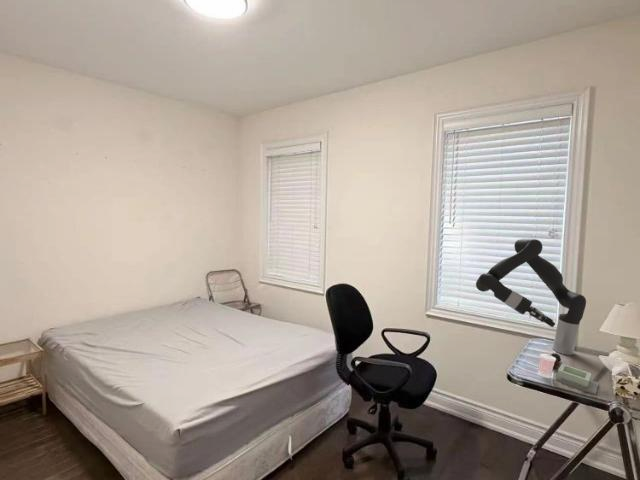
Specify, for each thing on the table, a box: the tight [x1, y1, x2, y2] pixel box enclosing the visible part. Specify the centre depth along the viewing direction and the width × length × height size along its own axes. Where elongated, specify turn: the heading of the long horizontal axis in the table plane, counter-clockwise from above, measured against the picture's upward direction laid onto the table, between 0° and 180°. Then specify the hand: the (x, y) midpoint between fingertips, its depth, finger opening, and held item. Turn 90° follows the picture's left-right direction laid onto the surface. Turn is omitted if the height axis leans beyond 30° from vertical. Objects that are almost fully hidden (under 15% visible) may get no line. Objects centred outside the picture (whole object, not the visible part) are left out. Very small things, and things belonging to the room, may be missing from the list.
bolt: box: [551, 353, 562, 370], centre depth 169 cm, size 6×5×15 cm
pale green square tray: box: [555, 363, 599, 396], centre depth 151 cm, size 14×14×4 cm
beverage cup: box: [538, 345, 556, 379], centre depth 154 cm, size 6×6×14 cm
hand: (553, 323), depth 154 cm, fingers open, 8 cm apart
